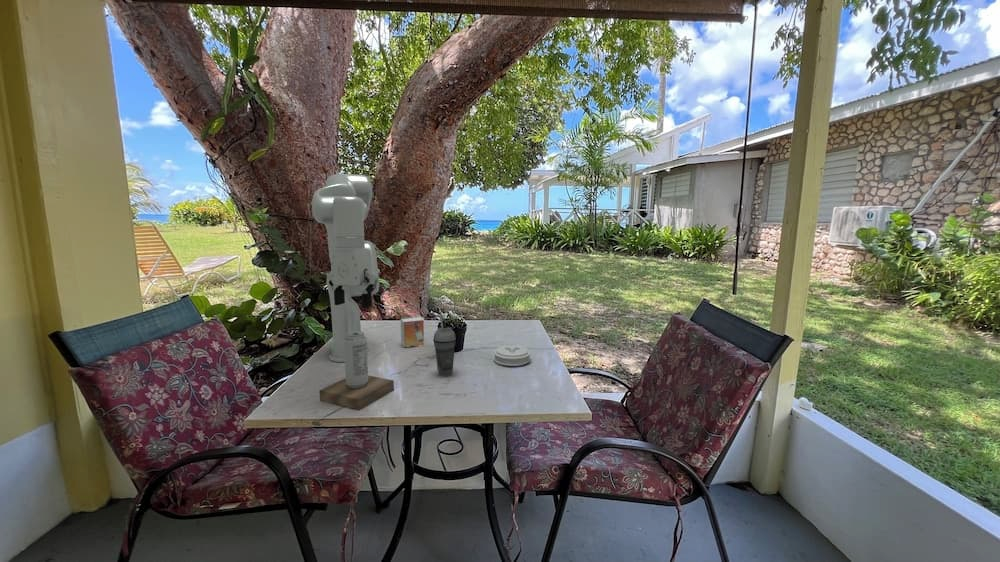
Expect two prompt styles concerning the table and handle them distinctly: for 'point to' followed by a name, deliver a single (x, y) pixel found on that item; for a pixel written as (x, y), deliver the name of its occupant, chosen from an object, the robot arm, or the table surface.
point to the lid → (512, 355)
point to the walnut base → (357, 392)
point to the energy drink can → (356, 359)
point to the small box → (412, 332)
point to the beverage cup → (444, 349)
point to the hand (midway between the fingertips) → (353, 305)
